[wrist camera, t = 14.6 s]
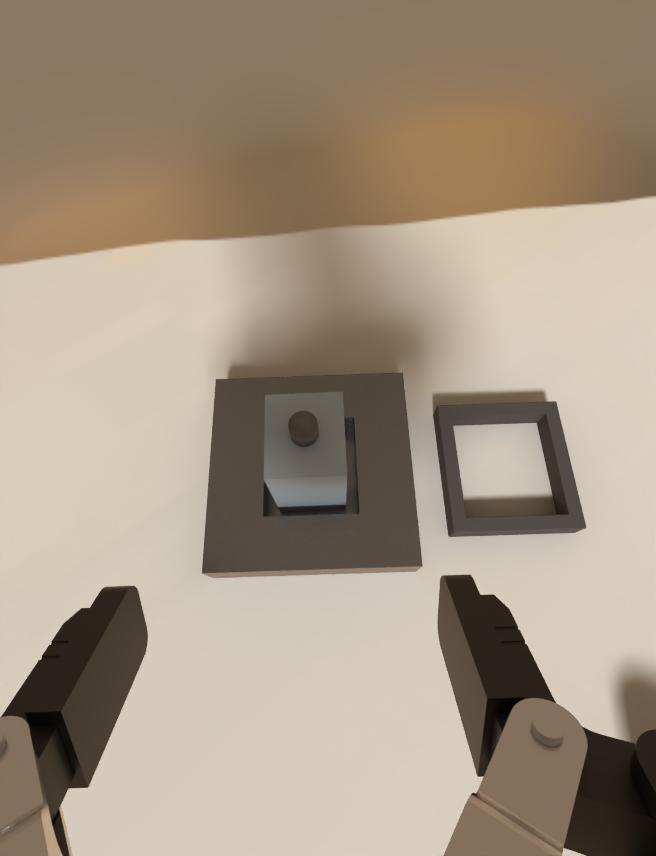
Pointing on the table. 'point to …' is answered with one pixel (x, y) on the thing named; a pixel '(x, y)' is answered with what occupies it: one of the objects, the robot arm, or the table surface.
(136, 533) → the table surface
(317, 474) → the plug
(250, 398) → the block
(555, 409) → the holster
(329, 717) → the table surface
